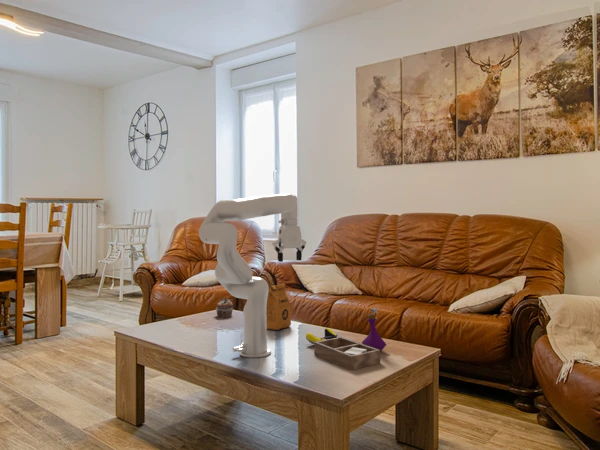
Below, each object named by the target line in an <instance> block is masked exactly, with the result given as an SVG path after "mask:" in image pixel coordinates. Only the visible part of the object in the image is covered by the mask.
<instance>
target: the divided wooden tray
mask: <svg viewBox="0 0 600 450" xmlns="http://www.w3.org/2000/svg"><path fill="white" fill-rule="evenodd" d="M352 347H354V348H361V349H367V352H365V353H361V354H356V355H350V354H347V353H345V351H347V350H349V349H351V348H352ZM313 354H314V356H317V357H320V358H322V359H325V360H327V361H329V362H332V363H334V364H337V365H339V366H341V367H342V368H346V369H348V370H351V371H353V370H358V369H362V368H365V367H369V366H370V367H371V366H374V365H378V364H381V352H380V350H379V349H376V348H373V347H370V346H367V345H364V344H362V342H361V343H360V342H357V341H354V340H353V339H352V340H351V339H348V338H346V337H342V336H339V337H338V338H333V339H328V340H323V341H317V342H314V344H313Z"/></svg>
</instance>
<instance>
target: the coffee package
mask: <svg viewBox="0 0 600 450" xmlns="http://www.w3.org/2000/svg"><path fill="white" fill-rule="evenodd" d="M285 288H286V284H285V283H282V284H277V285H271V286H269V291H268V297H267V306H266V315H267V330H275V331H277V330H282V329H286V328H289V327H291V325H292V317H291V314H292V313H291V310H292V309H291V302H290V300H289V299H290V298H289V296H288V295H287V293H286V289H285Z"/></svg>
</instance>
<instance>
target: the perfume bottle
mask: <svg viewBox="0 0 600 450" xmlns="http://www.w3.org/2000/svg"><path fill="white" fill-rule="evenodd" d="M369 310H370V313H369V314H368V315H367V317H368V318H367V319H366V321H368V323H369V325H370V332H369V334H368V335H367V336H366V337H365V338H364V339H363V340H362V342H361V344H364V345H367V346H370V347H373V348H376V349H379V350H380V353H381V352H382V351H383V350H384V348H385V347H386V346H387V343H386V342H385V341H384V340H383V338H382V337H381V336H380V334H379V333H378V331H377V328H376V321H377V320H378V319H377V318H376V315H377V314H378V311H379V309H378V308H376V307H374V308H370V309H369ZM373 312H374V313H373Z"/></svg>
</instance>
